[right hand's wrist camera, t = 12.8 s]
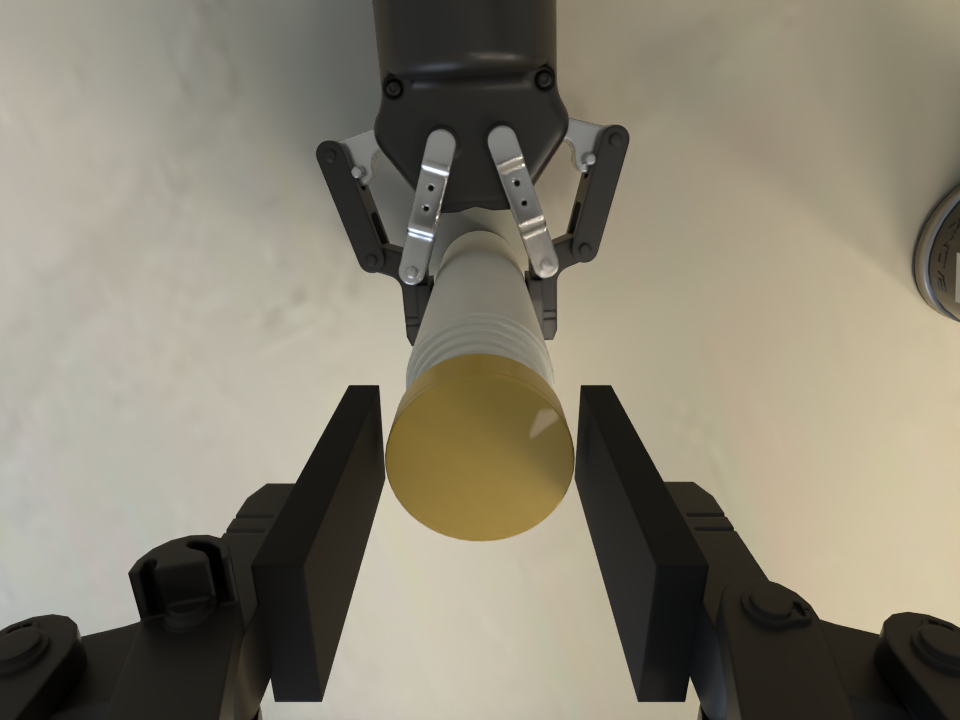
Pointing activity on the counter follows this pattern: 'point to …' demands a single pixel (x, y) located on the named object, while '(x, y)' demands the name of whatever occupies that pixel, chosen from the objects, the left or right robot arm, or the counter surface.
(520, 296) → the bottle
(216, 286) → the counter surface
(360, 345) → the counter surface
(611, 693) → the counter surface
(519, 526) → the cap
